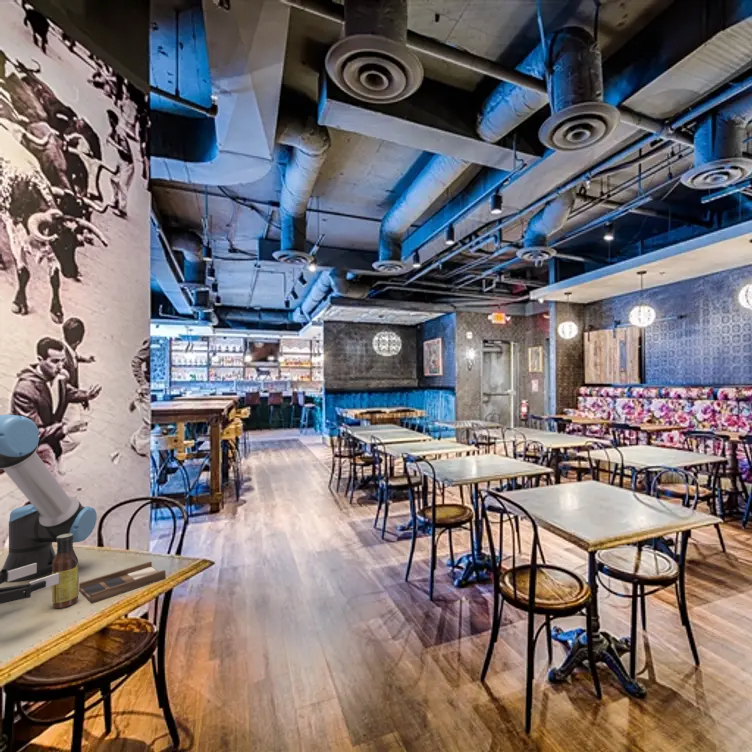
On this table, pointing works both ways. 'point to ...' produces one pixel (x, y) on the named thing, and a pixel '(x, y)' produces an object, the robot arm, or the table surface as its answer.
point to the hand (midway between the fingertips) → (47, 572)
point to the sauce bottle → (65, 573)
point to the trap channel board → (120, 582)
